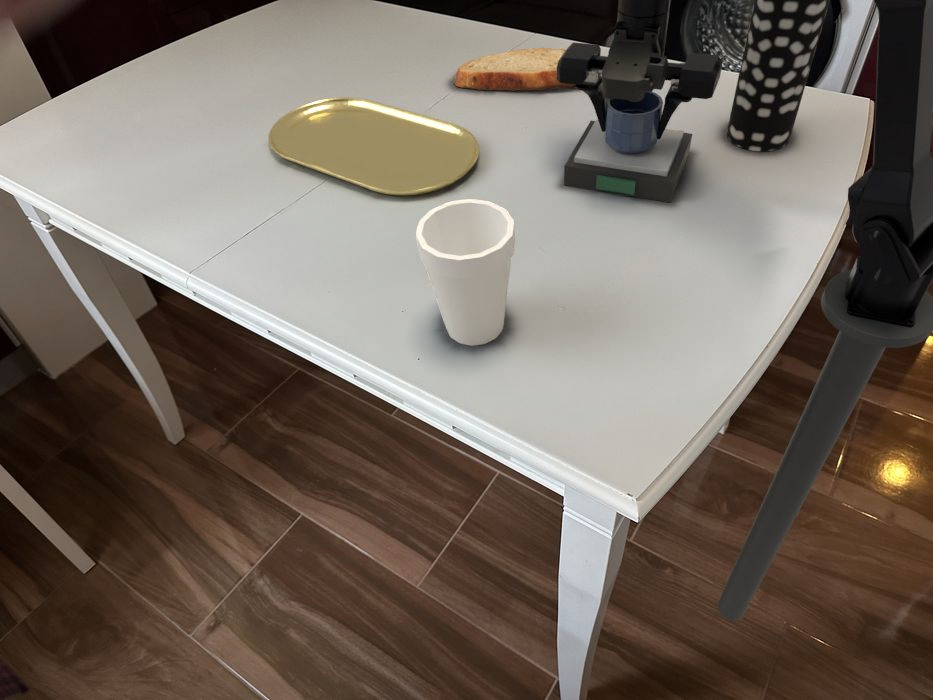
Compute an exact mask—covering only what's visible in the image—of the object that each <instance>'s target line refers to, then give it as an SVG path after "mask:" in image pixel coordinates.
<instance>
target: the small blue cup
mask: <svg viewBox="0 0 933 700" xmlns="http://www.w3.org/2000/svg"><path fill="white" fill-rule="evenodd" d="M663 108H664V101H663V98H662V96H660V95H659V94H658V93H656V92H655V91H652V92H646V93H645V96H644V98H643V99H642V100H641V101H638V102H630V101H629V100H624V99H607V101H606V115H605V130H604V139H605V142H606V143H607V144H608V145H609V146H610V147H611V148H612V149H614V150H616V151H619V152H622V153H640V152H643V151H646V150H648V149H650V148H651V147H652V146H654V145H655V144H656V143H657V141H658V139H657V134H658V127H659V123H660V119H661V116H662V112H663Z"/></svg>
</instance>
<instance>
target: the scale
mask: <svg viewBox="0 0 933 700" xmlns="http://www.w3.org/2000/svg"><path fill="white" fill-rule="evenodd" d="M692 138H693V133H691V132H690V133H689V132H685V131H684V130H678V129H671V128H665V130H664V132H663V134H662V136H661V138H660V139H658V141H657V143H656V144H655V145H654V146H652V147H651V148H650V149H648V150H646V151H643V152H640V153H622V152H619V151H616V150H614V149H612V148H611V147H610V146H609V145H608V144H607V143H606V142H605V139H604V132H602V130H601V127H600V124H599V121H598V119H595V120H590V121H589V123H588V124H587V126H586V128H585V130H584V131H583V133H582V135H581V136H580V139H579V140H578V141H577V143H576V145H575V146H574V148H573V150H572V152H571V154H570V155H569V157H568V159H567V160H566V163H565V164H564V166H563V167H564V169H563V170H564V171H563V185H564V186H567V187H574V188H578V189H585V190H591V191H597V192H603V193H609V194H614V195H615V194H616V195H622V196H627V197H633V198H639V199H645V200H651V201H656V202H657V201H658V202H662V203H669V204H671V201H672V199H673V198H674V194H675V192H676V189H677V186H678V184H679V181H680V179H681V175H682V173H683V171H684V169H685V166H686V163H687V160H688V157H689V155H690V150H691V146H692V140H693V139H692Z"/></svg>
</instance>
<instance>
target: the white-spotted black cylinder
mask: <svg viewBox="0 0 933 700" xmlns="http://www.w3.org/2000/svg"><path fill="white" fill-rule="evenodd" d="M830 1H831V0H754V1H753V6H752V11H751V16H750V21H749V24H748V25H749V26H748V30H747V35H746V38H745V39H746V40H745V43H744V49H743V54H742V58H741V63H740V66H739V67H740V68H739V73H738V77H737V81H736V87H735V91H734V96H733V101H732V106H731V110H730V115H729V120H728V125H727V128H726V129H727V130H726V138H727V139H728V140H729V142H730V143H731V144H733V145H735V146H736V147H738V148H741V149H744V150H747V151H753V152H773V151H776V150H779V149H782V148H784V147H785V146H787V145H788V143H789V142H790V141H791V138H792V133H793V131H794V126H795V123H796V119H797V116H798V112H799V110H800V106H801V102H802V99H803V95H804V92H805V88H806V86H807V81H808V78H809V74H810V71H811V67H812V64H813V62H814V61H813V60H814V57H815V53H816V50H817V46H818V43H819V41H820V36H821V33H822V30H823V25H824V22H825V20H826V16H827V12H828V8H829V5H830Z"/></svg>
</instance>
